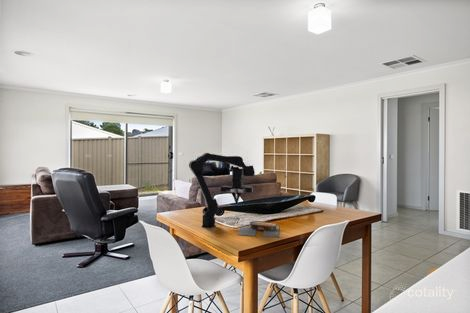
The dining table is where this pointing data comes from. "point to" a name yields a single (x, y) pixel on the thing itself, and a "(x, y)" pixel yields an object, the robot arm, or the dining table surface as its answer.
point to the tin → (263, 225)
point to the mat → (251, 232)
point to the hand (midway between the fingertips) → (236, 203)
